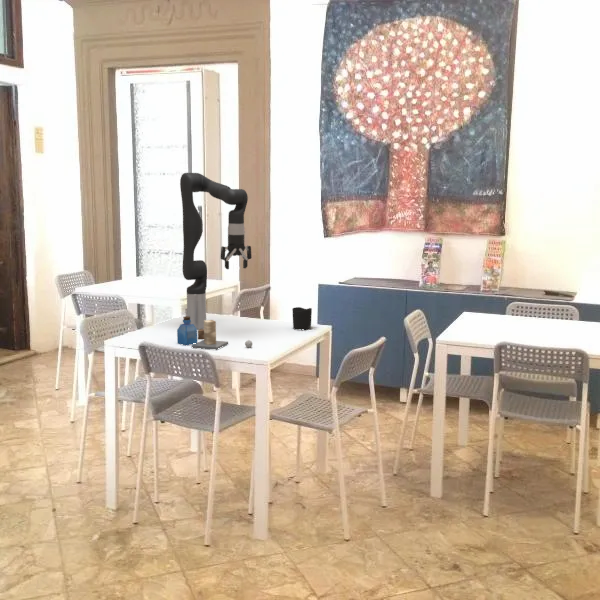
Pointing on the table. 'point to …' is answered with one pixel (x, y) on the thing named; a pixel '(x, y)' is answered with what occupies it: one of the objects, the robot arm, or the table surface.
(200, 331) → the walnut cube
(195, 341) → the perfume bottle
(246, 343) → the grey ball
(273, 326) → the table surface
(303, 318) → the pen holder
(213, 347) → the trivet
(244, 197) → the robot arm
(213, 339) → the mottled tan cylinder
